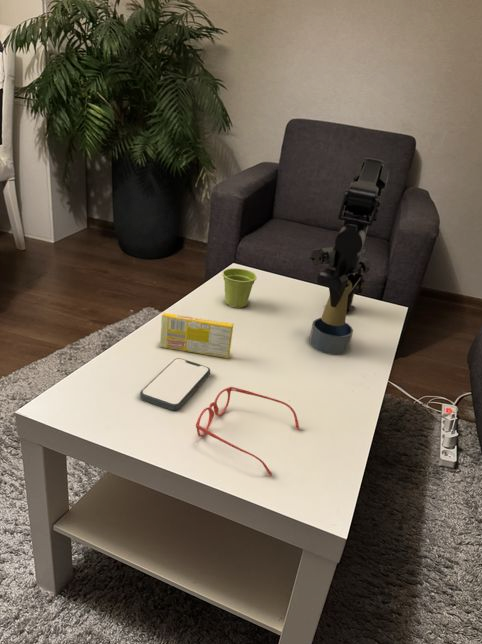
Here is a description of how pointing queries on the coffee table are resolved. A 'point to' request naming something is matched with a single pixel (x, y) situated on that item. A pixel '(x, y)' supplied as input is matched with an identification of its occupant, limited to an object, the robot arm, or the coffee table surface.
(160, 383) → the smartphone
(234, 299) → the plant pot
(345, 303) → the brown cylinder with knob
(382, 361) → the coffee table surface
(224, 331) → the candy box
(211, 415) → the red eyeglasses
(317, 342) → the blue-grey round bowl
